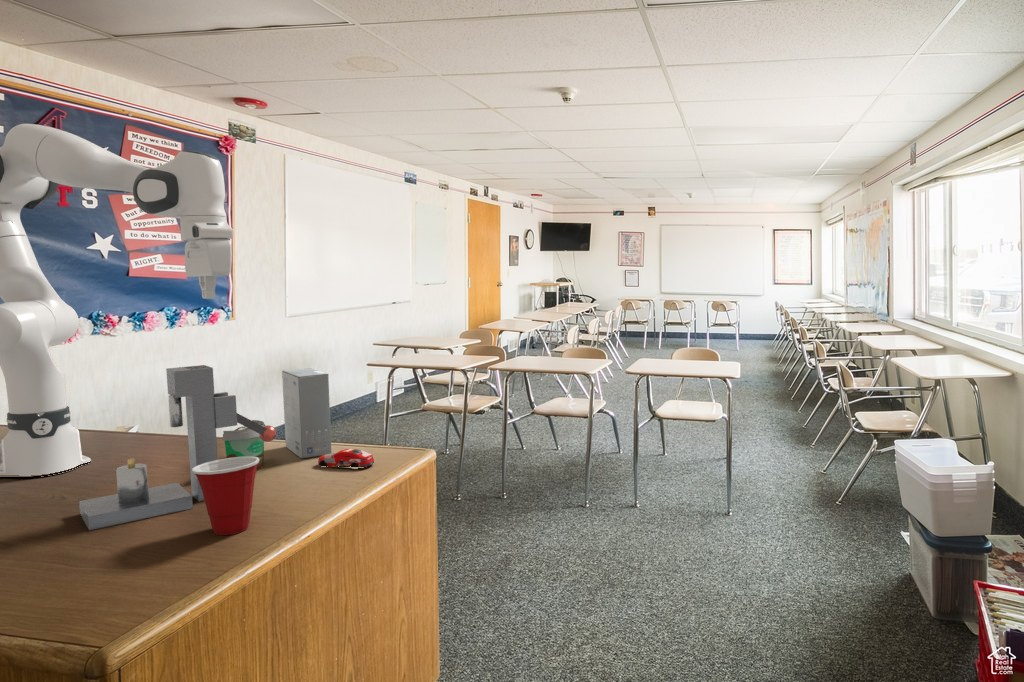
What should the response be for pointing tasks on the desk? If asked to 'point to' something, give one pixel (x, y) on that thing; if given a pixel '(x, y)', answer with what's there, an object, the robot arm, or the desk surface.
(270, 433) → the lever
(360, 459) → the race car
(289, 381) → the hard drive box
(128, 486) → the cylinder
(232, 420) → the press
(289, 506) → the desk surface
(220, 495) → the plastic cup
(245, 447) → the food container
